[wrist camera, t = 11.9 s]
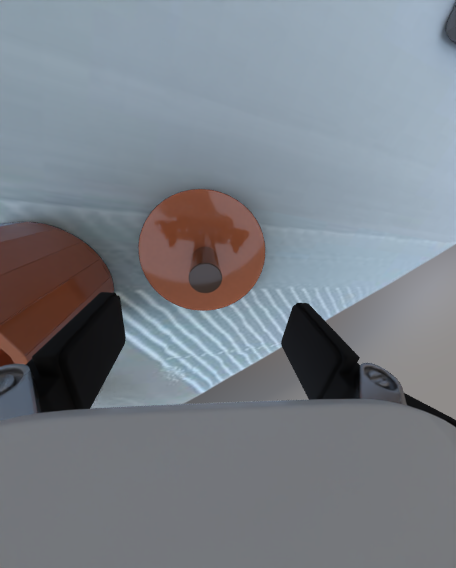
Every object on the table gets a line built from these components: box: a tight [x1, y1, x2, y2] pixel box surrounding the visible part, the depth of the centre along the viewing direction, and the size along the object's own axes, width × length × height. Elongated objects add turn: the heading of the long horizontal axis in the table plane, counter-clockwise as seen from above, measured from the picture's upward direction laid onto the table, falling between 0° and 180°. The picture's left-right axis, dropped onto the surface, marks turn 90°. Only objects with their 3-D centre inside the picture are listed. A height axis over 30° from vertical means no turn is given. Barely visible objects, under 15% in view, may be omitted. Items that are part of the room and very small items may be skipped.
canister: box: [0, 222, 114, 367], centre depth 14 cm, size 11×12×10 cm
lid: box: [139, 189, 265, 310], centre depth 17 cm, size 12×12×6 cm
